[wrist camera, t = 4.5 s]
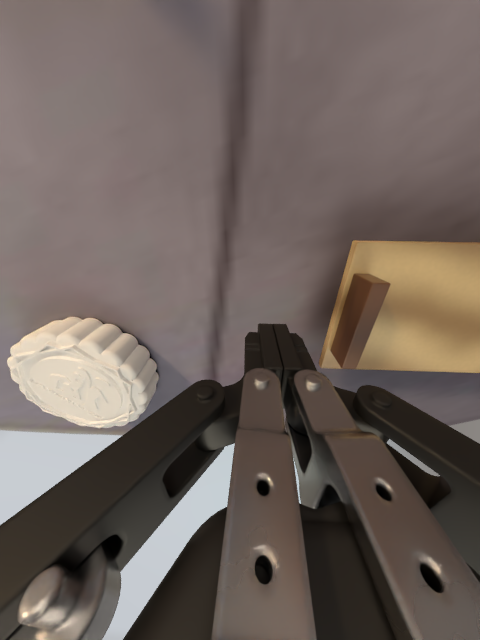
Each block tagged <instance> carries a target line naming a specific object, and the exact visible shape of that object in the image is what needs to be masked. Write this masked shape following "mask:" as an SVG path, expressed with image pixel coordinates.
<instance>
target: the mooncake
mask: <svg viewBox="0 0 480 640" xmlns="http://www.w3.org/2000/svg"><path fill="white" fill-rule="evenodd" d="M10 352H11V355H12V356H11V357H9V358H8V360H7V364H8V366H9V367H10V368H11V369H10V371H11V378H12V379H13V380H14V381H15V382H16V383H18V384H19V385H20V386H19V388H20V390H21V392H22V393H23V394H25V396H26V399H28V400H30V401H32V402H34V403H35V404H36V405H38V406H39V407H40V408H41V409H42V411H44V412H47V413H51V414H53V415H55V416H58V417H63V418H65V419H66V420H68V421H69V422H72V423H75V424H77V425H79V426H89V427H96V428H101V427H103V428H110V427H112V426H114V425H115V426H124V425H126V424H127V423H128V422H131V421H135V420H137V419H138V417H139V416H140V414H141V413H143V412H144V411H145V410H146V408H147V406H148V404H149V402H150V400H151V398H152V396H153V395H154V393H155V391H156V384H157V382H158V380H159V375H158V373H157V372H156V369H157V365H156V363H155V361H154V360H153V359H151V358H149V357H150V353H149V351H148V350H147V348H145V347H144V346H141V345H138V341H137V339H136V338H135V337H134V336H132V335H131V334H127V333H122V331H121V330H120V328H118V327H117V326H115V325H113V324H103V323H102V322H101V321H99V320H97V319H94V318H86V319H84V320H82V319H80V318H78V317H68V318H66V319H64V320H55V321H52V322H51V323H49V324H47V325H45V326H43V327H41V328H39V329H38V330H36V331H34V332H32V333H30V334H28V335H26V336H25V337H23V338H22V339H21V341H20V342H19V343H17V344H15V345H13V346H12V347H11V350H10Z"/></svg>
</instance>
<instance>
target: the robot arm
mask: <svg viewBox="0 0 480 640" xmlns="http://www.w3.org/2000/svg"><path fill="white" fill-rule="evenodd" d="M283 409H285V411H286V420H285V423H284V414H283ZM285 427H286V430H285ZM286 431H287V432H286ZM389 439H391V440H392V441H393V442H395V443H396V444H398V445H399V446H400V447H402V448H403V449H405V450H406V451H407V452H409V453H410V454H411V455H413V456H414V457H416V458H417V459H418V460H420V461H421V462H423V463H424V464H425V465H427V466H428V467H430V468H431V469H432V470H434V471H435V472H436V473H438V474H439V475H440V476H439V477H437V476H433V475H430V474H428V473H426V472H424V471H423V470H421V469H420V468H419V467H418V466H416V465H415V464H414V463H412V462H411V461H410V460H408V459H407V458H406V457H404V456H403V455H402V454H400V453H399V452H398V451H396V450H395V449H393V448H392V447H391V446H389V445H388V444H387V441H388V440H389ZM233 443H235V447H234V455H233V464H232V472H231V480H230V488H229V496H228V505H227V507H226V508H224V509H222V510H220V511H218V512H217V513H215V514H214V515H213V516H211V517H210V518H209V519H208V520H207V521H206V522H205V523H203V524H202V525H201V526H200V528H199V529H198V530H197V531H196V532H195V534H194V535H193V536H192V537H191V539H190V540H189V542H188V543H187V544H186V546H185V547H184V549H183V551H182V552H181V553H180V555H179V557H178V558H177V559H176V561H175V562H174V564H173V566H172V567H171V569H170V570H169V571H168V573H167V574H166V576H165V577H164V579H163V580H162V582H161V583H160V585H159V586H158V588H157V589H156V591H155V592H154V594H153V595H152V597H151V598H150V600H149V602H148V603H147V604H146V606H145V607H144V609H143V610H142V612H141V613H140V615H139V616H138V618H137V619H136V621H135V622H134V624H133V625H132V627H131V628H130V630H129V631H128V633H127V634H126V636H125V637H124V639H123V640H480V444H479V443H477V442H475V441H473V440H472V439H470V438H468V437H467V436H465V435H463V434H461V433H460V432H458V431H456V430H454V429H453V428H451V427H449V426H447V425H446V424H444V423H442V422H440V421H439V420H437V419H435V418H433V417H432V416H430V415H428V414H426V413H425V412H423V411H421V410H420V409H418V408H416V407H414V406H413V405H411V404H409V403H407V402H406V401H404V400H402V399H400V398H399V397H397V396H395V395H393V394H392V393H390V392H388V391H386V390H384V389H382V388H379V387H376V386H371V385H365V386H361V387H360V388H359V389H358V391H357V393H354V392H351V391H347V390H344V389H340V388H337V387H334V386H333V385H332V383H331V382H330V380H329V379H328V378H327V377H326V376H324V375H323V374H321V373H319V372H317V370H316V368H315V365H314V363H313V361H312V359H311V357H310V355H309V353H308V350H307V348H306V347H305V344H304V342H303V340H302V338H300V337H299V336H298V335H297V334H296V333H289V330H288V328H287V325H286V324H258V332H249V333H248V334H247V336H246V337H245V365H244V376H243V378H242V379H241V380H240V381H239V382H237V383H235V384H233V385H229V386H225V387H222V385H221V384H220V383H218V382H216V381H214V380H201V381H198V382H196V383H194V384H193V385H191V386H190V387H189V388H187V389H186V390H184V391H183V392H182V393H180V394H179V395H178V396H176V397H175V398H174V399H172V400H171V401H169V402H168V403H167V404H165V405H164V406H163V407H161V408H160V409H159V410H157V411H156V412H154V413H153V414H152V415H150V416H149V417H148V418H146V419H145V420H144V421H142V422H141V423H139V424H138V425H137V426H135V427H134V428H133V429H131V430H130V431H128V432H127V433H126V434H124V435H123V436H122V437H120V438H119V439H118V440H116V441H115V442H113V443H112V444H111V445H109V446H108V447H107V448H105V449H104V450H103V451H101V452H100V453H99V454H97V455H96V456H94V457H93V458H92V459H90V460H89V461H88V462H86V463H85V464H84V465H82V466H81V467H79V468H78V469H77V470H75V471H74V472H73V473H71V474H70V475H68V476H67V477H66V478H64V479H63V480H62V481H60V482H59V483H58V484H56V485H55V486H53V487H52V488H51V489H49V490H48V491H47V492H46V493H44V494H43V495H41V496H40V497H39V498H37V499H36V500H34V501H33V502H32V503H30V504H29V505H28V506H26V507H25V508H23V509H22V510H21V511H19V512H18V513H17V514H15V515H14V516H13V517H11V518H10V519H8V520H7V521H6V522H5V523H3V524H2V525H0V640H102V638H103V637H104V635H105V633H106V631H107V629H108V628H109V625H110V623H111V621H112V618H113V616H114V613H115V611H116V608H117V604H118V600H119V596H120V589H121V575H120V572H121V570H122V569H123V568H124V567H125V565H126V564H127V563H128V562H129V561H130V559H131V558H132V557H133V556H134V555H135V554H136V553H137V551H138V550H139V549H140V548H141V547H142V545H143V544H144V543H145V542H146V541H147V539H148V538H149V537H150V536H151V535H152V534H153V532H154V531H155V530H156V529H157V528H158V526H159V525H160V524H161V523H162V522H163V521H164V519H165V518H166V517H167V516H168V515H169V513H170V512H171V511H172V510H173V508H174V507H175V506H176V505H177V504H178V503H179V501H180V500H181V499H182V498H183V497H184V495H185V494H186V493H187V492H188V491H189V490H190V488H191V487H192V486H193V485H194V484H195V483H196V481H197V480H198V479H199V478H200V477H201V475H202V474H203V473H204V472H205V471H206V469H207V468H208V467H209V466H210V464H212V462H213V461H214V460H215V459H216V458H217V456H218V455H219V454H220V453H221V452H222V450H223V449H224V447H225V446H228V445H231V444H233ZM293 458H294V461H295V465H296V468H297V472H298V477H299V490H300V499H301V504H300V503H299V500H298V492H297V484H296V476H295V469H294V461H293Z"/></svg>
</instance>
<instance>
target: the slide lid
mask: <svg viewBox="0 0 480 640" xmlns="http://www.w3.org/2000/svg"><path fill="white" fill-rule="evenodd" d="M319 365H320V367H321V368H335V369H367V370H399V371H432V372H464V373H480V243H472V242H415V241H358V240H354V241H353V242H352V245H351V249H350V252H349V256H348V260H347V263H346V267H345V270H344V274H343V278H342V281H341V285H340V288H339V292H338V295H337V299H336V303H335V306H334V310H333V313H332V317H331V321H330V324H329V328H328V331H327V335H326V339H325V342H324V346H323V349H322V353H321V357H320V360H319Z"/></svg>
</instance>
